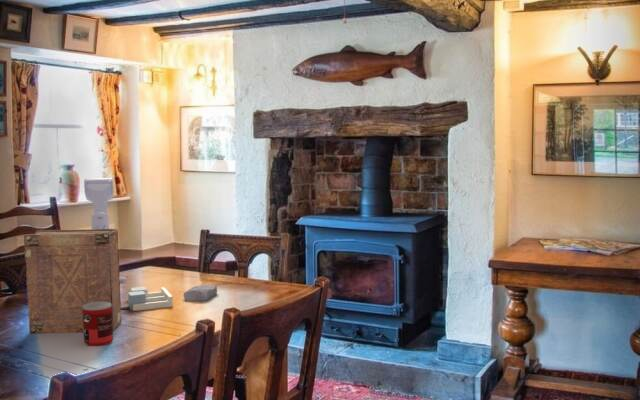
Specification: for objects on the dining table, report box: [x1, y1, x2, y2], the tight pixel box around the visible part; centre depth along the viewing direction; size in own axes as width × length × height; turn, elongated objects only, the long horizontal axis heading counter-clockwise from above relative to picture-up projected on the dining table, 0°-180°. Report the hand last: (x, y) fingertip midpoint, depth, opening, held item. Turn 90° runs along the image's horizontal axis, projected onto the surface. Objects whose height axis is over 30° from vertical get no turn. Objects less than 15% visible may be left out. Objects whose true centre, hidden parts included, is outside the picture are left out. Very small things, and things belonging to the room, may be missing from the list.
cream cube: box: [130, 286, 149, 298], centre depth 235 cm, size 5×5×5 cm
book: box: [23, 228, 122, 334], centre depth 203 cm, size 25×9×30 cm, turn 91°
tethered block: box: [121, 291, 146, 311], centre depth 225 cm, size 5×14×6 cm, turn 113°
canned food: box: [82, 301, 114, 347], centre depth 189 cm, size 8×8×11 cm
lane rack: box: [126, 287, 174, 312], centre depth 232 cm, size 15×13×4 cm
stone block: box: [183, 284, 218, 302], centre depth 241 cm, size 12×5×10 cm
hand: (104, 306), depth 223 cm, fingers closed on tethered block, 2 cm apart
